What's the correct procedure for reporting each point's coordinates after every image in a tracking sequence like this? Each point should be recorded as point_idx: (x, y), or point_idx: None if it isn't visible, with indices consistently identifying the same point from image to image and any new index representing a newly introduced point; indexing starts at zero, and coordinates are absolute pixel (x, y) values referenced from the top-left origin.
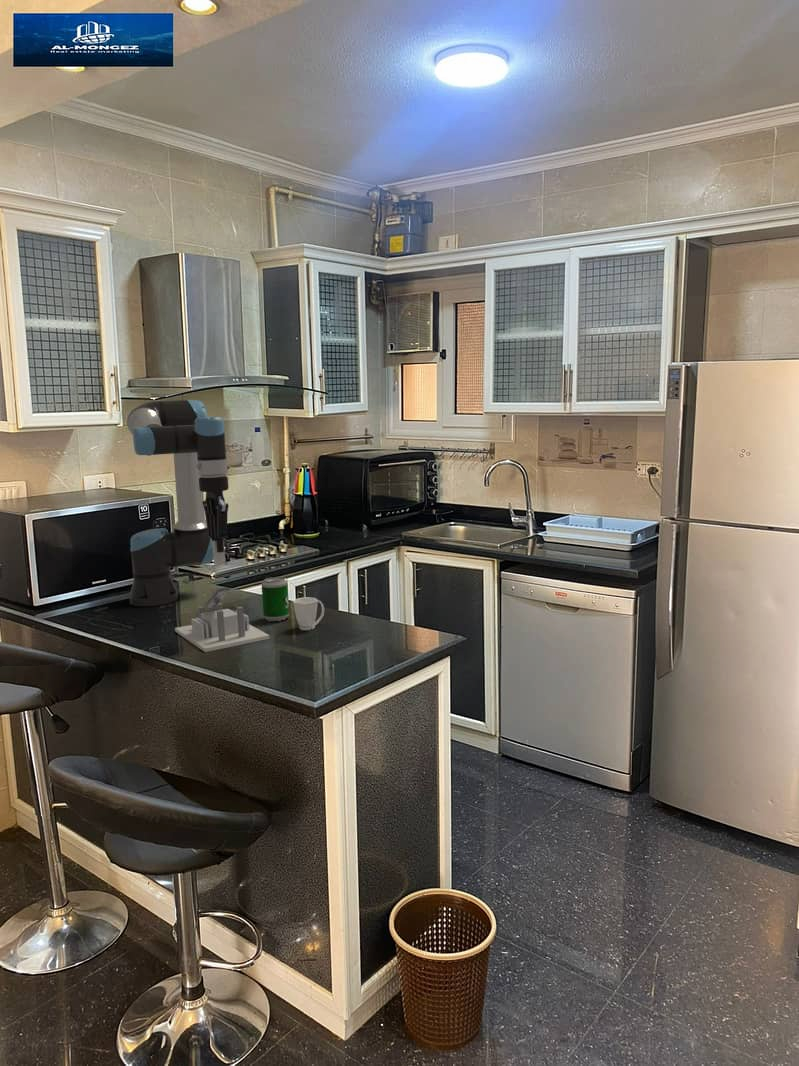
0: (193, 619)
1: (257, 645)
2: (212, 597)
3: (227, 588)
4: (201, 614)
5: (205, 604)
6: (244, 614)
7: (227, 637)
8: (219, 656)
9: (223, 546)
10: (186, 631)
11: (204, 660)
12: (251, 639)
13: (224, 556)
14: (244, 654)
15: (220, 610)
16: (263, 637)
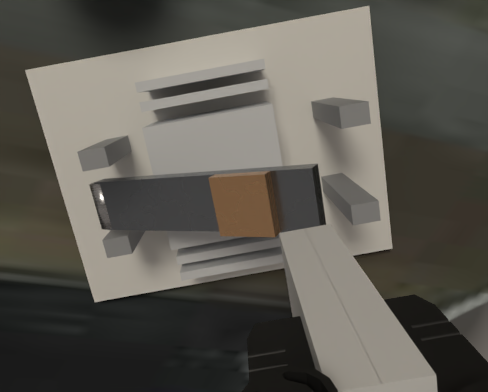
0: (196, 274)
1: (416, 71)
2: (213, 229)
3: (315, 177)
4: (182, 247)
5: (114, 229)
6: (224, 68)
7: (309, 158)
8: (455, 211)
9: (390, 316)
10: (158, 273)
11: (465, 257)
12: (375, 82)
13: (347, 253)
14: (485, 136)
15: (359, 209)
16: (370, 32)
